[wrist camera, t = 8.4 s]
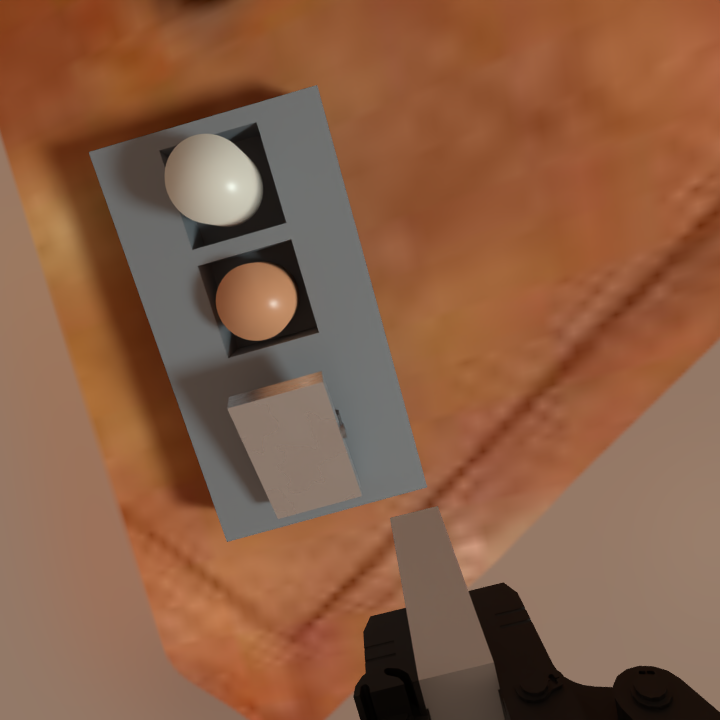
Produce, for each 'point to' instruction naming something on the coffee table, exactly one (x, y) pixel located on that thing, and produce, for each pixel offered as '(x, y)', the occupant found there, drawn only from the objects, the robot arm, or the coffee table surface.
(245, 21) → the coffee table surface
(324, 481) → the block
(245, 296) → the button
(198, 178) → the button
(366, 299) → the grey slotted block
